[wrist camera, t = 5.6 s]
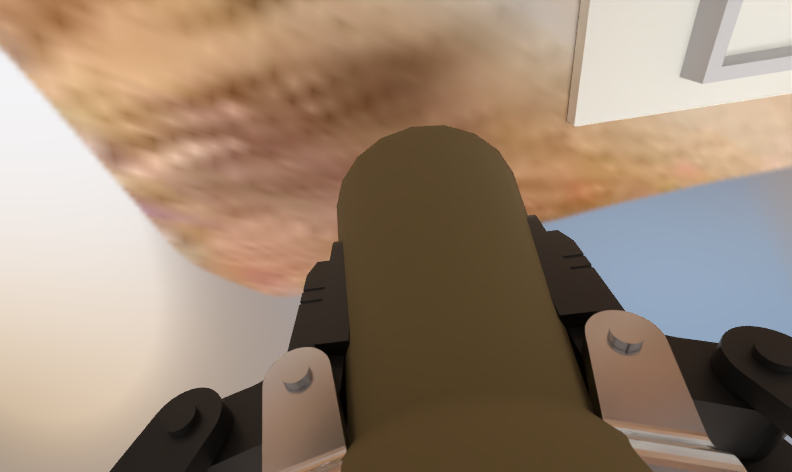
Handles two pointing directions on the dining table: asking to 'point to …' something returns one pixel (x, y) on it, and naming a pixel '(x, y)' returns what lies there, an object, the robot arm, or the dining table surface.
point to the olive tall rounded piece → (456, 321)
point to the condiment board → (677, 56)
